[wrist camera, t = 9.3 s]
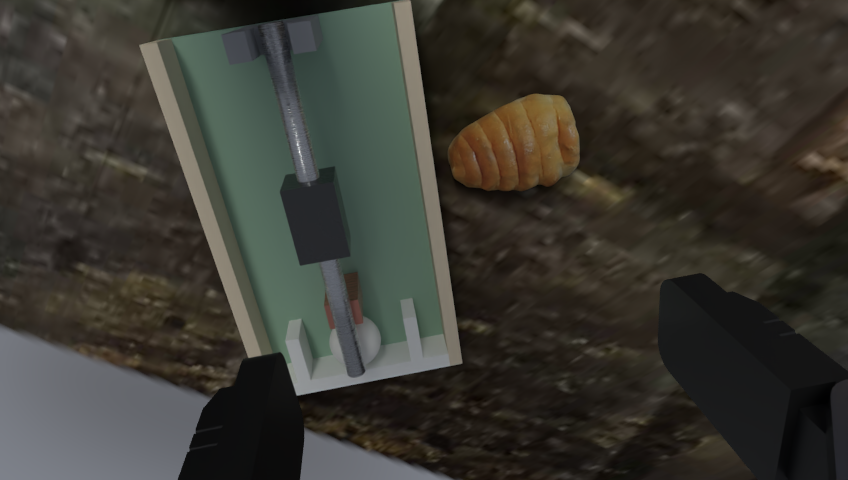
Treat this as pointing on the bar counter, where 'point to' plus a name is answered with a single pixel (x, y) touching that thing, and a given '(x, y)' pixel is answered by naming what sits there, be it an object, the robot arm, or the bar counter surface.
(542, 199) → the bar counter surface
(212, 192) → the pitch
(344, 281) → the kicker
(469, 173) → the pastry
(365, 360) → the ball
